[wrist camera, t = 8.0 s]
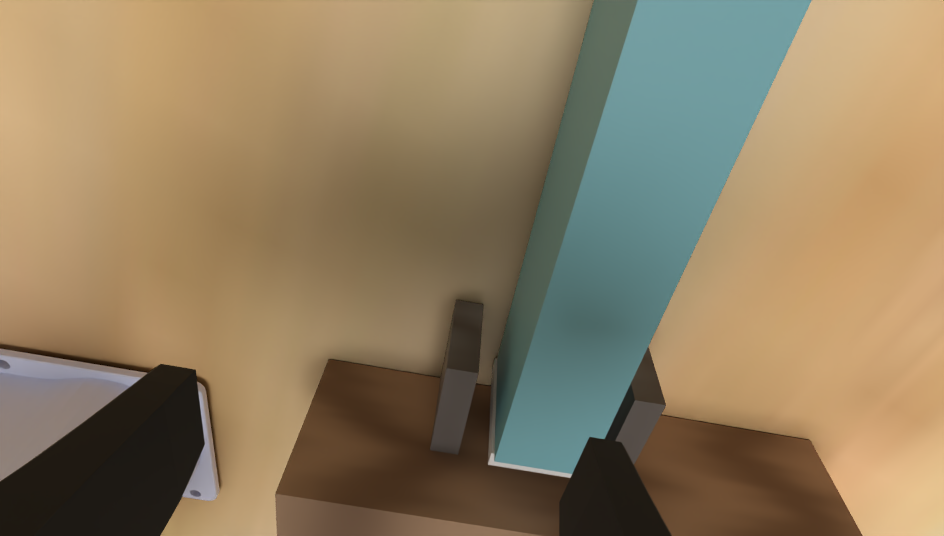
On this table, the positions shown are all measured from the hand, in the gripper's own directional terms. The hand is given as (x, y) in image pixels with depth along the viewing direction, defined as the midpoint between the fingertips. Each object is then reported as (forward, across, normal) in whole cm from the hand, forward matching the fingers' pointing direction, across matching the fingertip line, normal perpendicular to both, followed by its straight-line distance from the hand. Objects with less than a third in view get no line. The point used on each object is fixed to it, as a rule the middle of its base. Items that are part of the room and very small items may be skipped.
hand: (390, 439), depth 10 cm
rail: (+9, -4, -1) cm, 10 cm away
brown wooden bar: (+9, -7, +7) cm, 13 cm away
